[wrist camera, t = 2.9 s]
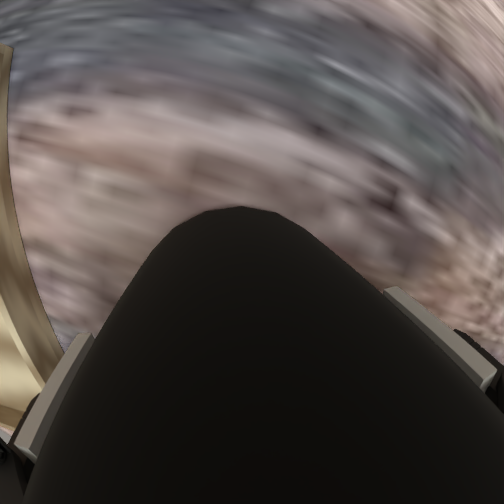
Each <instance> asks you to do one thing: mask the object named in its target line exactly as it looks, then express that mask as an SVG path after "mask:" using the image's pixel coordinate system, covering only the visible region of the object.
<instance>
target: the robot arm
mask: <svg viewBox="0 0 504 504" xmlns="http://www.w3.org/2000/svg"><path fill="white" fill-rule="evenodd" d="M383 295H384V296H385V297H386V298H387V299H388V300H390V301H391V302H392V303H393V304H394V305H395V306H396V307H397V308H398V309H400V310H401V311H402V312H403V313H404V314H405V315H406V316H407V317H408V318H409V319H410V320H412V321H413V322H414V323H415V324H416V325H417V326H418V327H419V328H420V329H421V330H422V331H423V332H424V333H425V334H426V335H427V336H429V337H430V338H431V339H432V340H433V341H434V342H435V343H436V344H437V345H438V346H439V347H440V348H441V349H442V350H443V351H444V352H445V353H446V354H447V355H448V356H449V357H450V358H451V359H452V360H453V361H454V362H455V363H456V364H457V365H458V366H459V367H460V368H461V369H462V370H463V371H464V372H465V373H466V374H467V375H468V376H469V377H470V378H471V379H472V380H473V381H474V383H475V384H476V385H477V386H478V387H479V388H480V389H481V390H482V391H483V392H484V393H485V394H486V395H487V396H488V398H489V399H490V400H491V401H492V402H493V403H494V404H495V405H496V406H497V407H498V409H499V410H500V411H501V412H502V413H503V414H504V366H503V365H502V364H501V363H500V362H498V361H497V360H496V359H495V358H494V357H493V356H492V355H491V354H489V353H488V352H487V351H486V350H485V349H484V348H481V346H480V345H479V344H478V343H477V342H474V340H473V339H472V338H471V337H470V336H468V335H467V334H466V333H463V332H461V331H459V330H457V329H454V330H452V329H451V328H449V327H448V326H447V325H446V324H445V323H443V322H442V321H441V320H440V319H439V318H437V317H436V316H435V315H434V314H432V313H431V312H430V311H429V310H427V309H426V308H425V307H424V306H422V305H421V304H420V303H419V302H417V301H416V300H415V299H414V298H412V297H411V296H410V295H408V294H407V293H406V292H404V291H403V290H402V289H401V288H399V287H398V286H395V287H391V288H387V289H384V292H383ZM94 341H95V340H94V338H93V335H92V333H78V334H77V336H76V337H75V339H74V340H73V342H72V343H71V345H70V346H69V348H68V349H67V351H66V352H65V354H64V355H63V357H62V358H61V360H60V362H59V363H58V365H57V366H56V368H55V370H54V371H53V373H52V374H51V376H50V378H49V379H48V381H47V383H46V384H45V386H44V388H43V389H42V391H41V393H38V394H37V395H36V396H35V397H34V398H33V399H32V400H31V401H30V403H29V405H28V406H27V408H26V411H25V412H24V414H23V416H22V419H20V421H19V423H18V425H17V427H16V429H15V431H14V433H13V435H12V437H11V439H10V441H9V443H8V444H6V443H5V442H4V441H3V440H2V439H1V437H0V504H22V501H23V498H24V495H25V492H26V488H27V485H28V482H29V479H30V477H31V474H32V471H33V468H34V465H35V463H36V460H37V458H38V455H39V452H40V450H41V447H42V445H43V443H44V440H45V438H46V435H47V433H48V431H49V429H50V426H51V424H52V422H53V420H54V417H55V415H56V413H57V411H58V409H59V407H60V405H61V403H62V401H63V398H64V396H65V394H66V392H67V390H68V388H69V387H70V385H71V383H72V381H73V379H74V377H75V375H76V373H77V371H78V369H79V367H80V366H81V364H82V362H83V360H84V358H85V356H86V355H87V353H88V351H89V349H90V348H91V346H92V344H93V342H94Z"/></svg>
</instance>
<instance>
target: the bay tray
mask: <svg viewBox="0 0 504 504" xmlns="http://www.w3.org/2000/svg"><path fill="white" fill-rule="evenodd" d="M12 53H13V48H11V47H9V46H6V45H4V44H2V43H0V426H1V427H4V428H7V429H9V430H12V431H15V429H16V427H17V425H18V423H19V421H20V419H22V416H23V414H24V412H25V411H26V408H27V406H28V405H29V403H30V401H31V400H32V399H33V398H34V397H35V396H36V395H37V394H38V393H41V391H42V389H43V388H44V386H45V384H46V383H47V381H48V379H49V378H50V376H51V374H52V373H53V371H54V370H55V368H56V366H57V365H58V363H59V362H60V360H61V358H62V357H63V355H64V352H63V350H62V348H61V346H60V344H59V342H58V340H57V338H56V336H55V334H54V331H53V329H52V327H51V325H50V322H49V320H48V318H47V315H46V313H45V310H44V308H43V305H42V303H41V300H40V298H39V295H38V292H37V289H36V287H35V284H34V281H33V278H32V275H31V272H30V268H29V265H28V262H27V258H26V255H25V251H24V248H23V244H22V240H21V236H20V231H19V227H18V222H17V218H16V213H15V207H14V201H13V195H12V188H11V181H10V172H9V162H8V147H7V99H8V85H9V75H10V67H11V60H12Z"/></svg>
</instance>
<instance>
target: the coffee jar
mask: <svg viewBox="0 0 504 504" xmlns="http://www.w3.org/2000/svg"><path fill="white" fill-rule="evenodd" d="M22 504H504V414H503V413H502V412H501V411H500V410H499V409H498V407H497V406H496V405H495V404H494V403H493V402H492V401H491V400H490V399H489V398H488V396H487V395H486V394H485V393H484V392H483V391H482V390H481V389H480V388H479V387H478V386H477V385H476V384H475V383H474V381H473V380H472V379H471V378H470V377H469V376H468V375H467V374H466V373H465V372H464V371H463V370H462V369H461V368H460V367H459V366H458V365H457V364H456V363H455V362H454V361H453V360H452V359H451V358H450V357H449V356H448V355H447V354H446V353H445V352H444V351H443V350H442V349H441V348H440V347H439V346H438V345H437V344H436V343H435V342H434V341H433V340H432V339H431V338H430V337H429V336H427V335H426V334H425V333H424V332H423V331H422V330H421V329H420V328H419V327H418V326H417V325H416V324H415V323H414V322H413V321H412V320H410V319H409V318H408V317H407V316H406V315H405V314H404V313H403V312H402V311H401V310H400V309H398V308H397V307H396V306H395V305H394V304H393V303H392V302H391V301H390V300H388V299H387V298H386V297H385V296H384V295H383V294H382V293H381V292H379V291H378V290H377V289H376V288H375V287H374V286H373V285H371V284H370V283H369V282H368V281H367V280H366V279H365V278H363V277H362V276H361V275H360V274H359V273H358V272H356V271H355V270H354V269H353V268H352V267H351V266H349V265H348V264H347V263H346V262H345V261H343V260H342V259H341V258H340V257H339V256H337V255H336V254H335V253H334V252H333V251H331V250H330V249H329V248H328V247H327V246H325V245H324V244H323V243H322V242H320V241H319V240H318V239H317V238H315V237H314V236H313V235H312V234H311V233H309V232H308V231H307V230H306V229H304V228H302V227H301V226H299V225H297V224H295V223H294V222H292V221H290V220H288V219H286V218H285V217H283V216H281V215H279V214H278V213H275V212H270V211H264V210H259V209H253V208H248V207H242V206H241V207H233V208H226V209H219V210H213V211H206V212H204V213H202V214H200V215H198V216H196V217H194V218H192V219H190V220H188V221H186V222H184V223H182V224H180V225H178V226H176V227H174V228H173V229H172V231H171V232H170V233H169V234H168V235H167V236H166V237H165V238H164V239H163V240H162V241H161V242H160V243H159V244H158V245H157V246H156V247H155V249H154V250H153V251H152V252H151V253H150V255H149V256H148V258H147V259H146V260H145V262H144V263H143V265H142V266H141V268H140V269H139V271H138V272H137V274H136V275H135V277H134V278H133V280H132V281H131V283H130V284H129V286H128V287H127V289H126V290H125V292H124V293H123V295H122V296H121V298H120V300H119V301H118V303H117V304H116V306H115V307H114V309H113V311H112V312H111V314H110V315H109V317H108V319H107V320H106V322H105V324H104V325H103V327H102V329H101V330H100V332H99V334H98V335H97V337H96V339H95V341H94V342H93V344H92V346H91V348H90V349H89V351H88V353H87V355H86V356H85V358H84V360H83V362H82V364H81V366H80V367H79V369H78V371H77V373H76V375H75V377H74V379H73V381H72V383H71V385H70V387H69V388H68V390H67V392H66V394H65V396H64V398H63V401H62V403H61V405H60V407H59V409H58V411H57V413H56V415H55V417H54V420H53V422H52V424H51V426H50V429H49V431H48V433H47V435H46V438H45V440H44V443H43V445H42V447H41V450H40V452H39V455H38V458H37V460H36V463H35V465H34V468H33V471H32V474H31V477H30V479H29V482H28V485H27V488H26V492H25V495H24V498H23V501H22Z"/></svg>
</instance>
